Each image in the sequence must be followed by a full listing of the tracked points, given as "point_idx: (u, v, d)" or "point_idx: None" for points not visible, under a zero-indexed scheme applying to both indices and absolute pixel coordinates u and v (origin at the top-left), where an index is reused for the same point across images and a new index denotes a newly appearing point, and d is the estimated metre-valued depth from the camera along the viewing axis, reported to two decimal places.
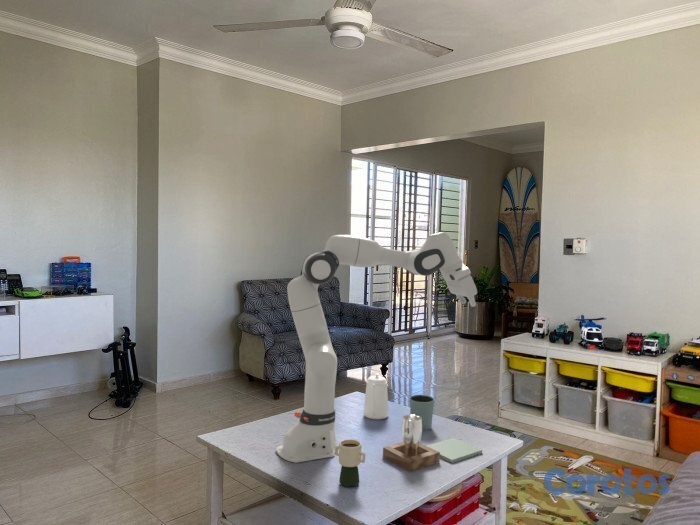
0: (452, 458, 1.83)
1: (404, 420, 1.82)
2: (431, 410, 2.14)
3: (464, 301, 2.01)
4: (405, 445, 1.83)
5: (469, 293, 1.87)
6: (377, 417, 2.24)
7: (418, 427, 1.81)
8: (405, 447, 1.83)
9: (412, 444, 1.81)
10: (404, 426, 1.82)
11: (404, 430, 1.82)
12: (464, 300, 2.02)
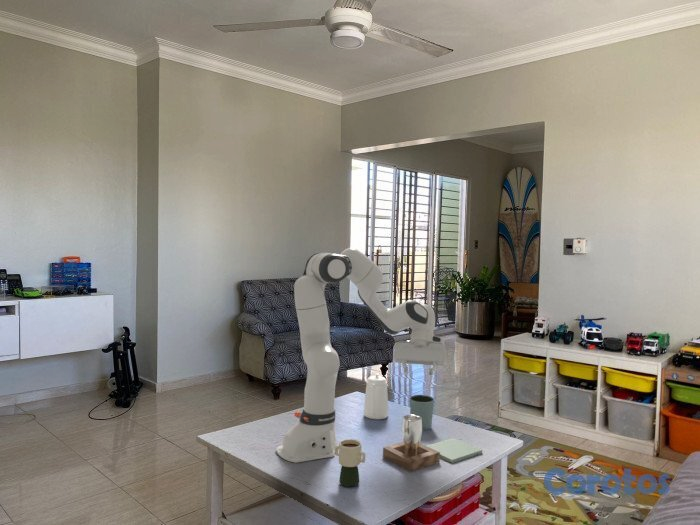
0: (452, 458, 1.83)
1: (404, 420, 1.82)
2: (431, 410, 2.14)
3: (407, 370, 1.97)
4: (405, 445, 1.83)
5: (446, 358, 1.96)
6: (377, 417, 2.24)
7: (418, 427, 1.81)
8: (405, 447, 1.83)
9: (412, 444, 1.81)
10: (404, 426, 1.82)
11: (404, 430, 1.82)
12: None
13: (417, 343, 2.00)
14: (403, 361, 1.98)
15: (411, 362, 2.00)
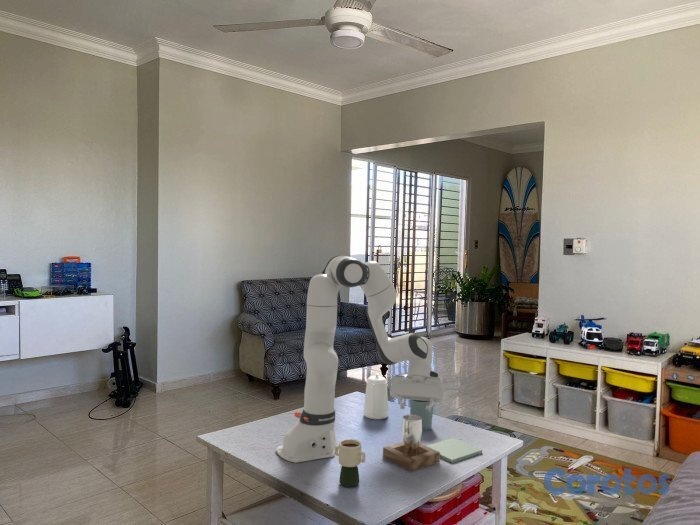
0: (452, 458, 1.83)
1: (404, 420, 1.82)
2: (431, 410, 2.14)
3: (404, 406, 1.93)
4: (405, 444, 1.83)
5: (443, 395, 1.93)
6: (377, 417, 2.24)
7: (418, 427, 1.81)
8: (405, 447, 1.83)
9: (412, 444, 1.81)
10: (404, 426, 1.82)
11: (404, 430, 1.82)
12: (404, 406, 1.94)
13: (414, 378, 1.97)
14: (400, 397, 1.95)
15: (408, 398, 1.97)
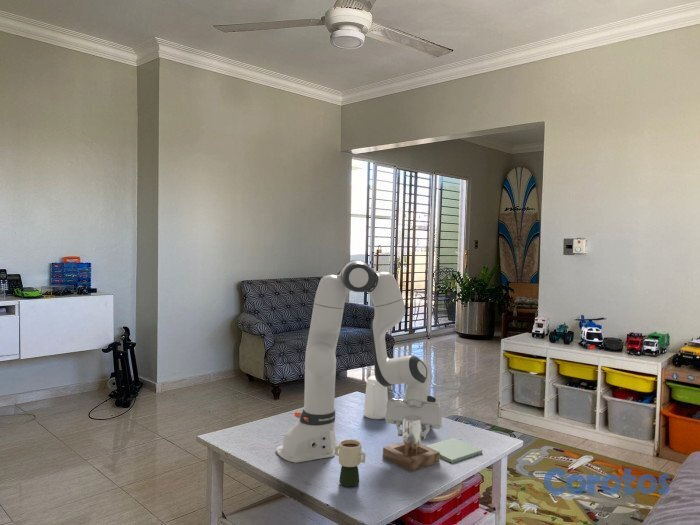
0: (452, 458, 1.83)
1: (404, 420, 1.82)
2: None
3: None
4: (405, 445, 1.83)
5: (441, 421, 1.84)
6: (377, 417, 2.24)
7: (418, 427, 1.81)
8: (405, 447, 1.83)
9: (412, 444, 1.81)
10: (404, 426, 1.82)
11: (404, 430, 1.82)
12: (401, 433, 1.85)
13: (411, 403, 1.89)
14: (397, 423, 1.86)
15: None
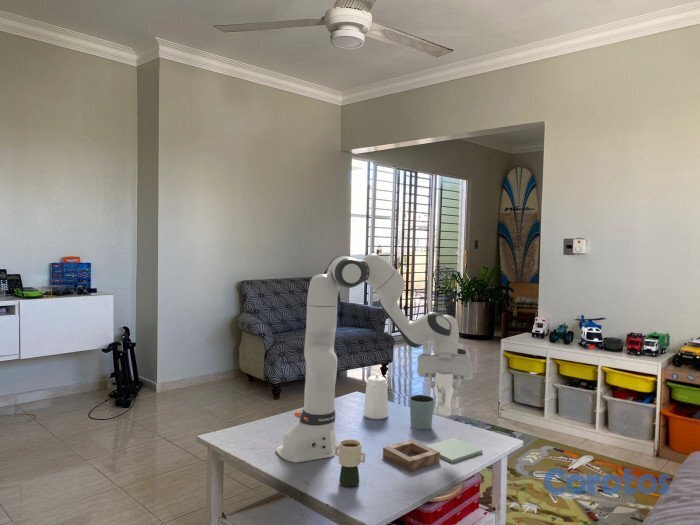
0: (452, 458, 1.83)
1: (437, 374, 1.87)
2: (431, 410, 2.14)
3: None
4: (437, 397, 1.88)
5: (472, 372, 1.89)
6: (377, 417, 2.24)
7: (451, 380, 1.86)
8: (437, 400, 1.88)
9: (444, 397, 1.86)
10: (437, 379, 1.87)
11: (437, 383, 1.87)
12: None
13: (441, 356, 1.94)
14: (429, 375, 1.91)
15: None
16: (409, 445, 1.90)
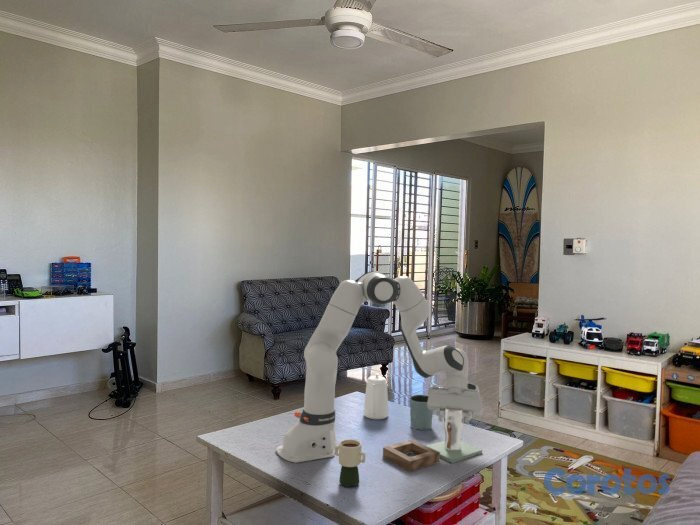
0: (452, 458, 1.83)
1: (446, 410, 1.90)
2: (431, 410, 2.14)
3: (442, 419, 1.93)
4: (447, 434, 1.91)
5: None
6: (377, 417, 2.24)
7: (460, 416, 1.89)
8: (447, 436, 1.91)
9: (454, 433, 1.89)
10: (446, 416, 1.90)
11: (446, 420, 1.90)
12: None
13: (452, 390, 1.97)
14: (438, 409, 1.95)
15: None
16: (409, 445, 1.90)
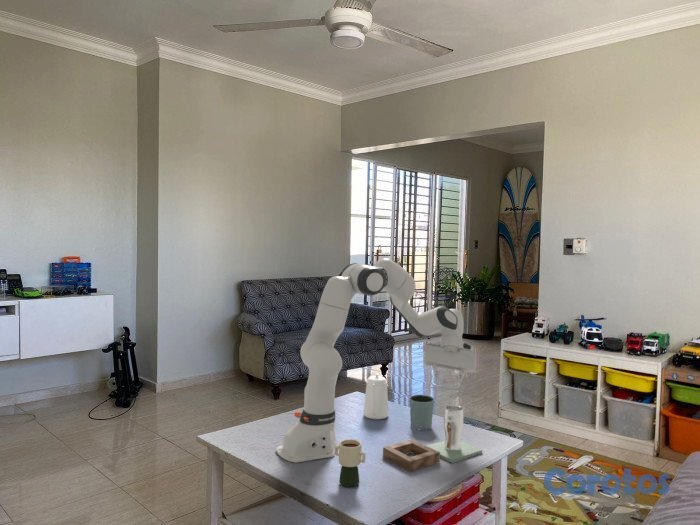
0: (452, 458, 1.83)
1: (446, 410, 1.90)
2: (431, 410, 2.14)
3: (437, 374, 2.05)
4: (447, 434, 1.91)
5: (475, 366, 2.05)
6: (377, 417, 2.24)
7: (460, 416, 1.89)
8: (447, 436, 1.91)
9: (454, 433, 1.89)
10: (446, 416, 1.90)
11: (446, 420, 1.90)
12: (437, 374, 2.05)
13: (448, 348, 2.08)
14: (434, 365, 2.06)
15: (440, 366, 2.08)
16: (409, 445, 1.90)
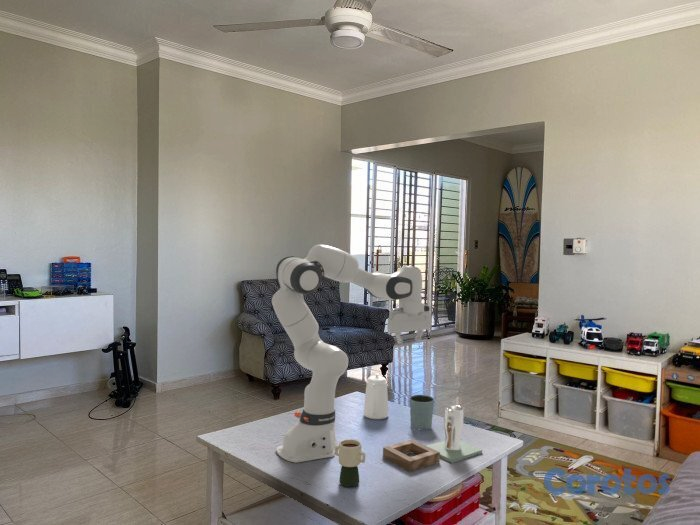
0: (452, 458, 1.83)
1: (446, 410, 1.90)
2: (431, 410, 2.14)
3: None
4: (447, 434, 1.91)
5: None
6: (377, 417, 2.24)
7: (460, 416, 1.89)
8: (447, 436, 1.91)
9: (454, 433, 1.89)
10: (446, 416, 1.90)
11: (446, 420, 1.90)
12: None
13: (412, 315, 2.02)
14: (399, 334, 2.01)
15: None
16: (409, 445, 1.90)
